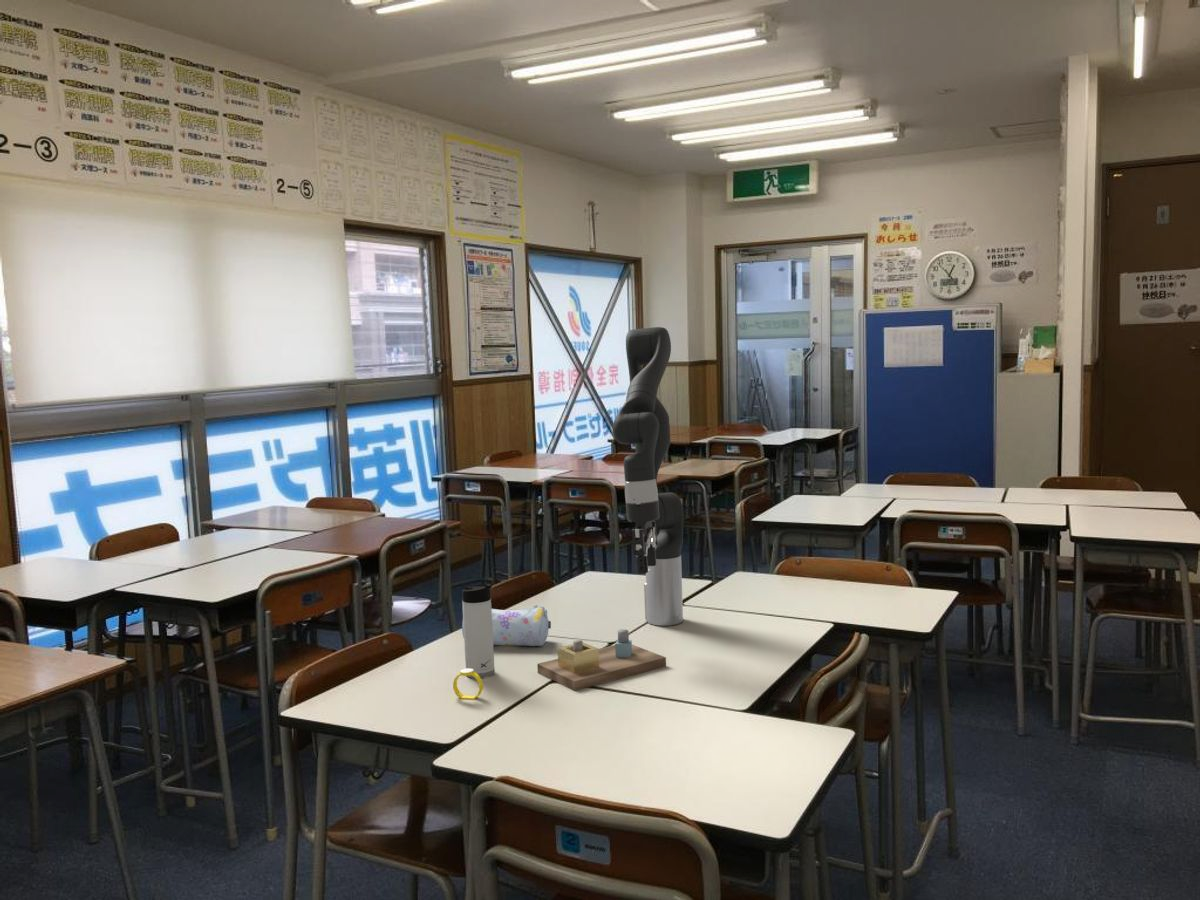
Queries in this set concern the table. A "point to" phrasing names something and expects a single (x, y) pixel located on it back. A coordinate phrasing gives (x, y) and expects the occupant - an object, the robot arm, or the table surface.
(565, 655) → the collar
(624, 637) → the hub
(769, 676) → the table surface
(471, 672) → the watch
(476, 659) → the travel mug
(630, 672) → the workboard
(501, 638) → the pencil case
